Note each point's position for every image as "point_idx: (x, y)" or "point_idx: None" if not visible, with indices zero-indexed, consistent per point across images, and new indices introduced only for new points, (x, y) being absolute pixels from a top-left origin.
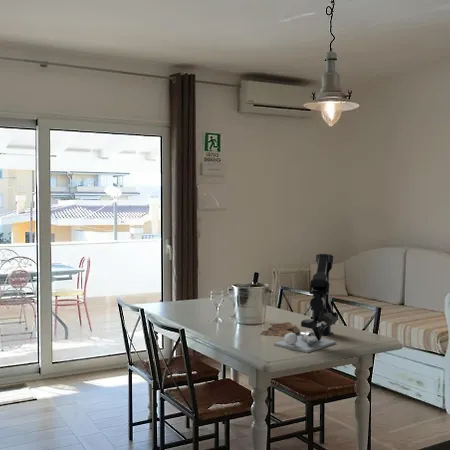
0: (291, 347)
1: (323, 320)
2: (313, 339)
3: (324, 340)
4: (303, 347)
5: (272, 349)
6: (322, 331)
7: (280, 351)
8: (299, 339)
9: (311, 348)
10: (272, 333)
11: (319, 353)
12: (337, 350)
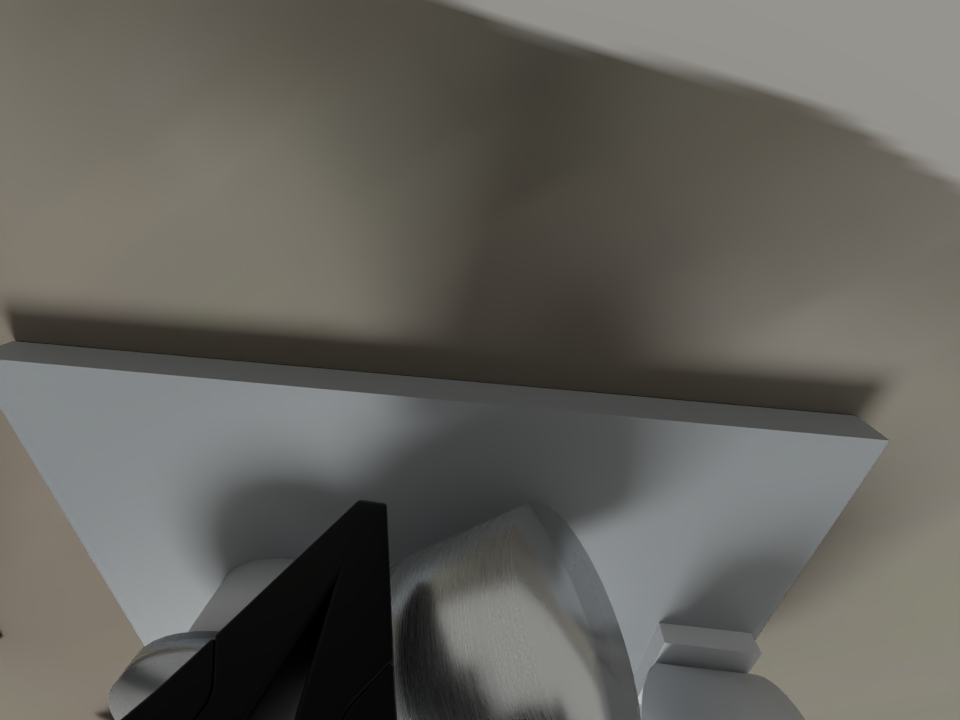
0: (751, 632)
1: None
2: (548, 586)
3: (124, 490)
4: (699, 544)
5: (838, 706)
6: (194, 713)
7: (901, 648)
8: None
9: (697, 445)
10: None
11: (798, 240)
12: (333, 46)
